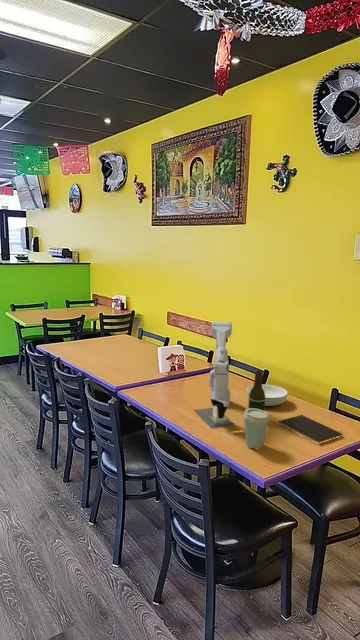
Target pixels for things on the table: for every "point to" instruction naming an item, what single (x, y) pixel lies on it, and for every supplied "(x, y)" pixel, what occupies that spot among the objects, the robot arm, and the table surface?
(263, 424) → the disposable coffee cup
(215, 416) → the cream square bottle
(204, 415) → the mat
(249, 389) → the serving bowl
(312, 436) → the hardcover book
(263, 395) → the beer bottle
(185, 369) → the table surface
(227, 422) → the end holder
